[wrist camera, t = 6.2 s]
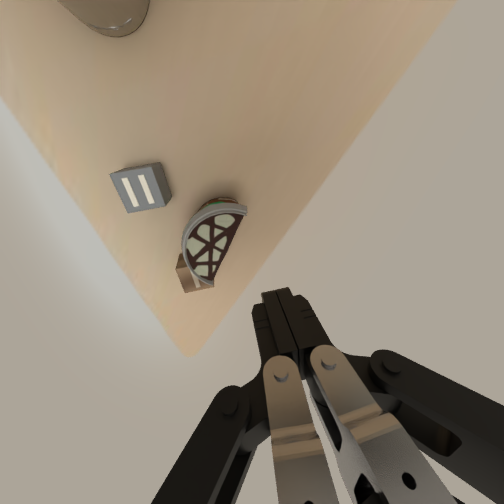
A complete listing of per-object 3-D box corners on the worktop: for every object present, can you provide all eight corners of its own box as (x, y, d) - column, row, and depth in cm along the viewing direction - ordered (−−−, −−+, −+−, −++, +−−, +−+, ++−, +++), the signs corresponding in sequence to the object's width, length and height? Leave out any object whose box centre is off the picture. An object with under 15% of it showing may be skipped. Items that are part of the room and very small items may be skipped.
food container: (203, 174, 31) (198, 190, 23) (240, 191, 33) (249, 211, 25) (178, 242, 36) (167, 276, 27) (212, 254, 38) (211, 288, 29)
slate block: (124, 168, 29) (108, 174, 25) (160, 162, 30) (150, 167, 25) (139, 202, 32) (127, 213, 27) (172, 196, 32) (165, 206, 28)
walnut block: (179, 253, 37) (175, 269, 33) (207, 248, 37) (206, 263, 33) (188, 275, 40) (184, 293, 35) (214, 270, 40) (214, 287, 35)
